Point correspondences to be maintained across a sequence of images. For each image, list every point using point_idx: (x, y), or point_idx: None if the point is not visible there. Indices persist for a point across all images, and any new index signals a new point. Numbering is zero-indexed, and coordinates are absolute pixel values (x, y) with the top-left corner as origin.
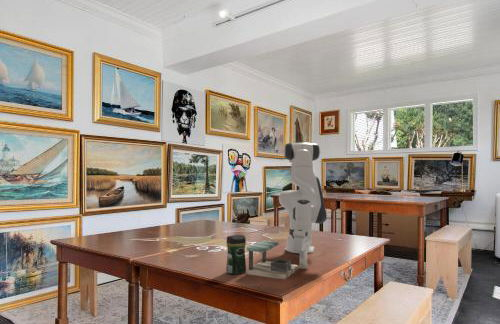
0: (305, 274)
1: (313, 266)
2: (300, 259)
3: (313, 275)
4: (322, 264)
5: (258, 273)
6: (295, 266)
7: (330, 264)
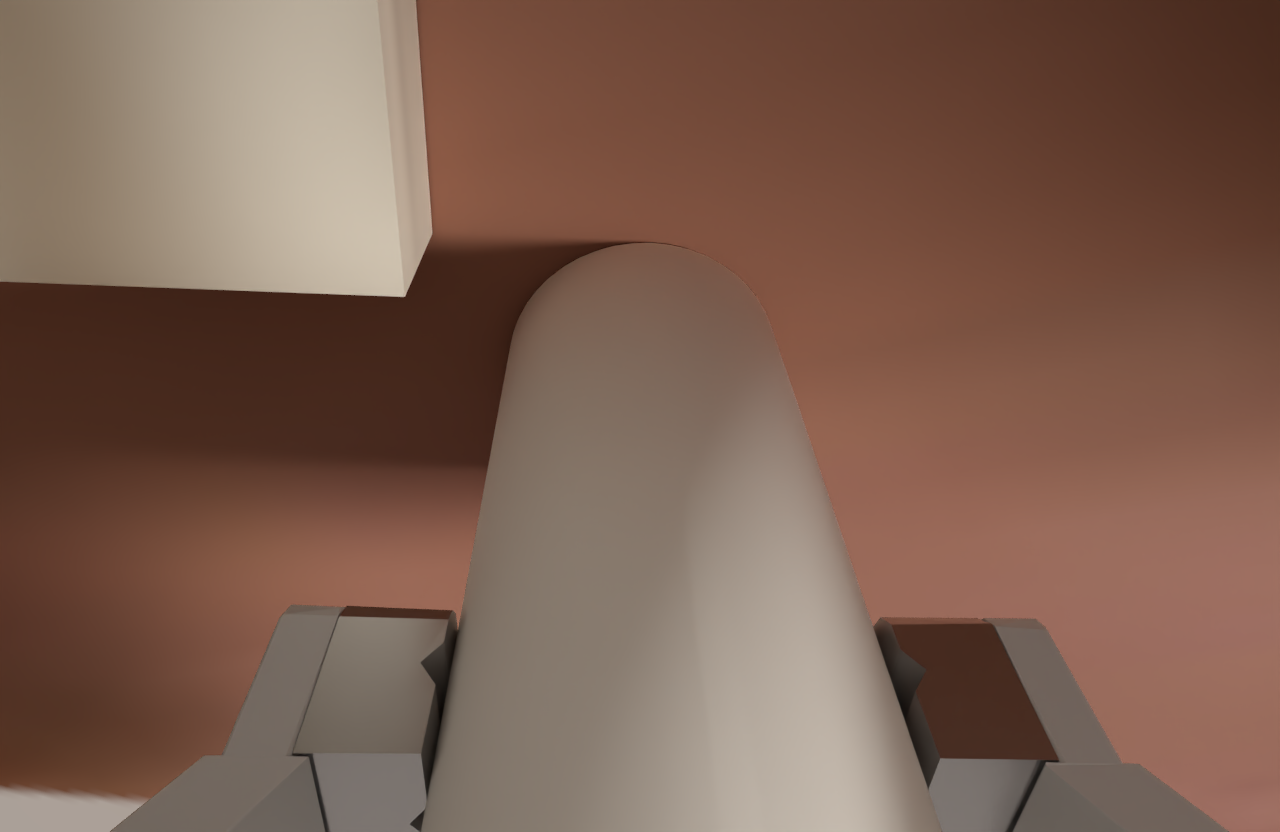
0: (5, 559)
1: (946, 570)
2: (495, 509)
3: (80, 714)
4: (1208, 701)
5: None
6: (117, 258)
7: (1224, 818)
